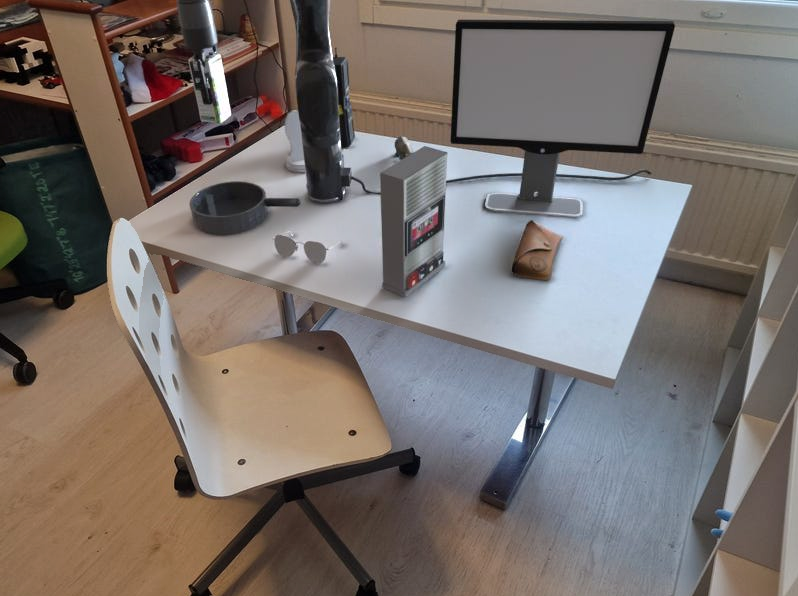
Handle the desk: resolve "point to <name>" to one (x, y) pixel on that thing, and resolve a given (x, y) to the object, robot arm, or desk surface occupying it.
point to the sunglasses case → (535, 253)
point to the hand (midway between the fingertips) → (212, 98)
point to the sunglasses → (288, 246)
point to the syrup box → (213, 92)
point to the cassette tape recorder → (413, 219)
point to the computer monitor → (555, 95)
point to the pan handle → (282, 202)
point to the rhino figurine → (402, 147)
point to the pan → (229, 208)
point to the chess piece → (294, 142)
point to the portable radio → (344, 101)
